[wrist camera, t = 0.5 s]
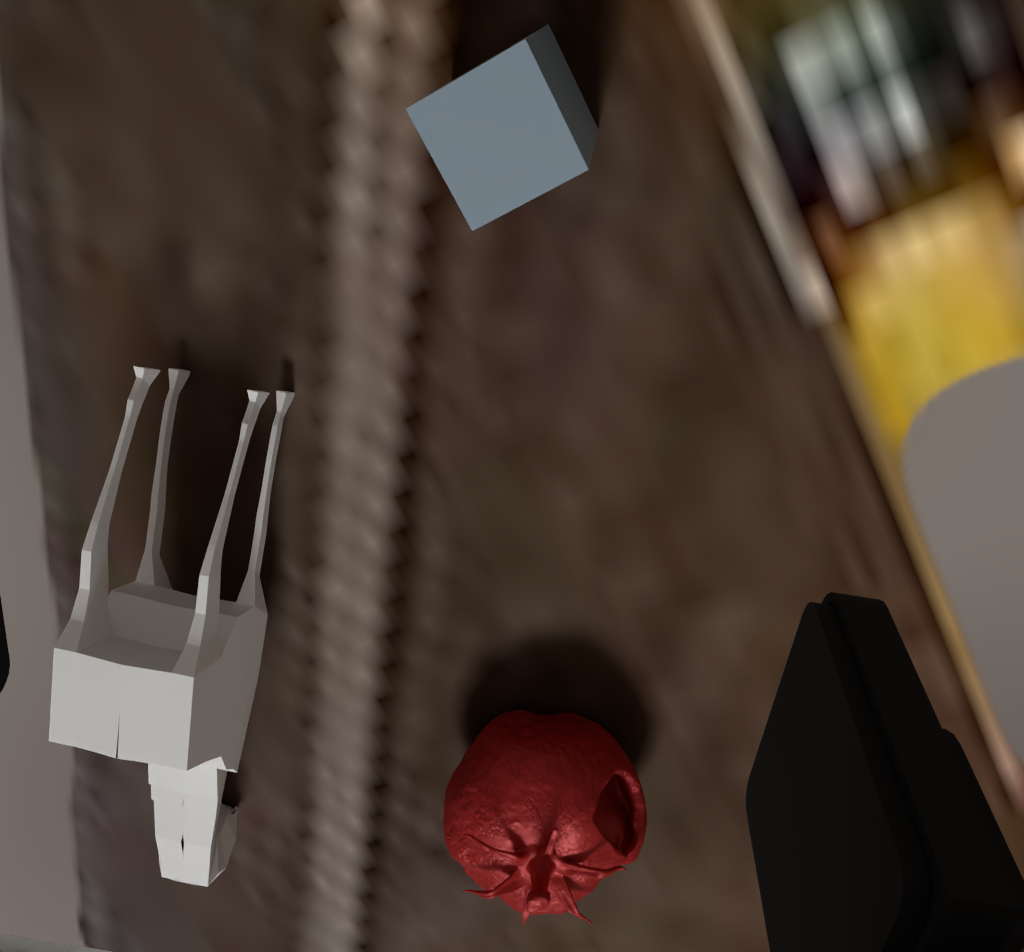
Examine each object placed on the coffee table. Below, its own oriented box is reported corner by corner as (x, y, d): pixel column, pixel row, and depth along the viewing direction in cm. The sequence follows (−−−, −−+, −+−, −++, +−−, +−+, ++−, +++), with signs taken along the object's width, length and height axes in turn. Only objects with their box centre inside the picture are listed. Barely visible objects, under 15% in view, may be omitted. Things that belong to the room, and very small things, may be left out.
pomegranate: (439, 801, 53) (403, 955, 45) (479, 663, 48) (446, 807, 40) (614, 847, 53) (610, 1009, 45) (671, 714, 48) (678, 868, 40)
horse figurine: (250, 368, 53) (168, 839, 55) (96, 363, 35) (-14, 1059, 38) (348, 388, 52) (260, 859, 55) (244, 394, 35) (123, 1089, 37)
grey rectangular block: (548, 23, 34) (525, 39, 27) (598, 129, 36) (588, 169, 29) (451, 80, 35) (405, 109, 28) (504, 180, 37) (472, 231, 30)
